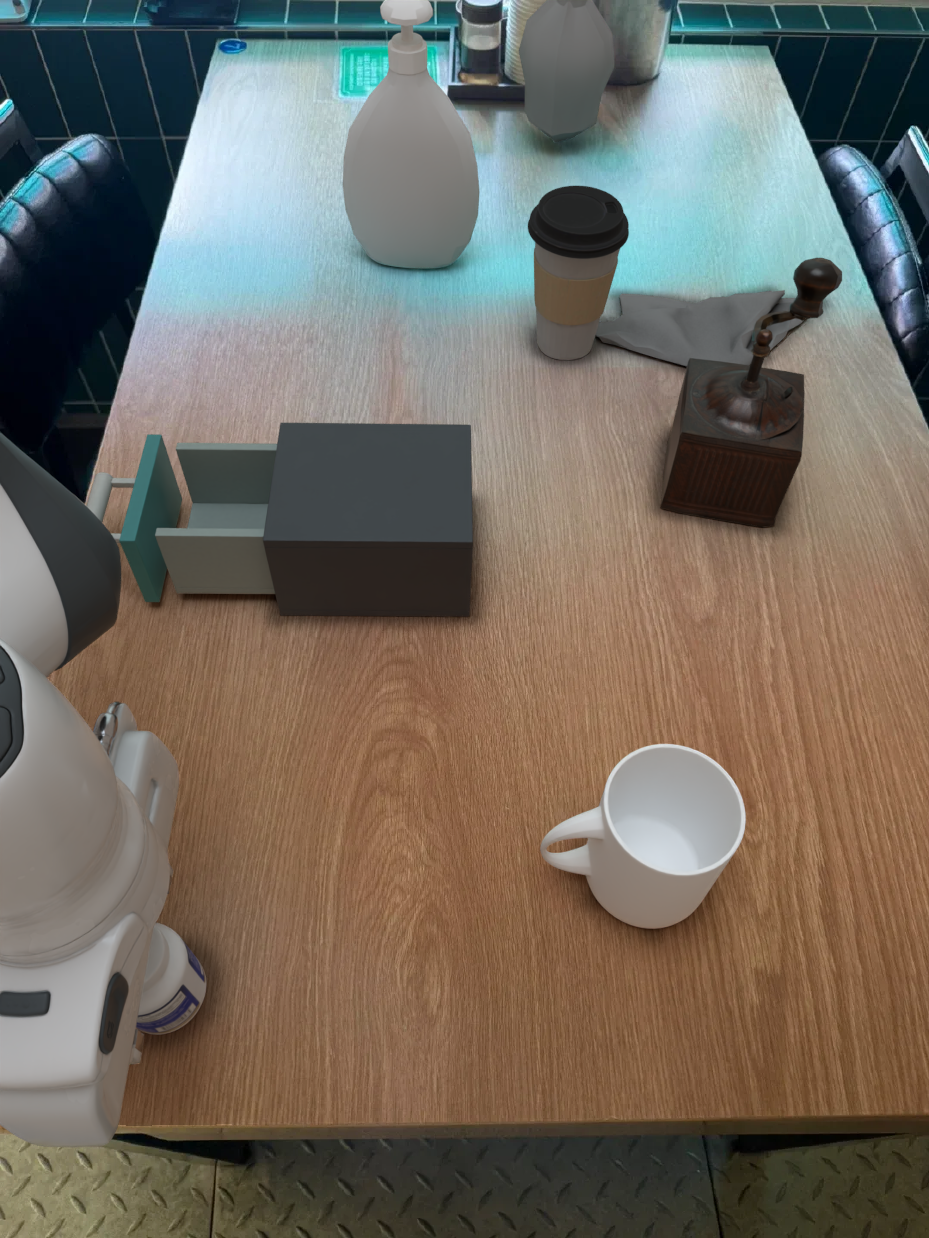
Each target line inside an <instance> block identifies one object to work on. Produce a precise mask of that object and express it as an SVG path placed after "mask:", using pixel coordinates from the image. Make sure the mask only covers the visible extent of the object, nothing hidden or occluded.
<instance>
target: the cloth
mask: <svg viewBox="0 0 929 1238" xmlns="http://www.w3.org/2000/svg"><path fill="white" fill-rule="evenodd" d="M785 295H786V291H785V289H783V290H775V291H774V290H766V291H758V292H743V293H734V294H731V295H729V296H712V297H711V296H709V297H708V298H705V299H703V300H700V301H696V302H692V301H687V300H686V301H685V300H681V299H674V298H670V297H663V296H657V295H648V294H647V295H646V294H637V293H621V294H619V302H620V308H621V315H620V316H619V317H617V318H616V319H614V320H606V321H599V324H598V328H597V331H596V335H595V338H599V339H600V340H601V342H602V343H604V344H609V345H614V346H617V347H620V348H623V349H626V350H629V351H633V352H636V353H639V354H643V355H646V356H650V357H653V358H656V359H659V360H663V361H666V362H670V363H674V364H677V365H681V366H685V367H687V364H688V361H689V358H695V359H703V360H712V361H721V362H728V363H735V364H742V365H749V366H750V364H751V361H752V358H753V355H752V353H751V350H752V346H753V343H752V333H753V329H754V326H755V323H756V321H757V320H758V319H759V318H760V317H762V316H764V315H766V314H769V313H774V312H781V311H788V310H790V309H789V307H790V304H791V303H793V302H794V300H795V298H796V297H786V298H785V297H784V296H785ZM803 322H804V321H801V320H800V319H796V318H795V319H792V320H788V321H785V322H781V323H776V324H773V325H770V326H768V327H766V329H768V330H770V331H771V332H772V334H773V339H772V341H771V343H770V344H769V347H770V351H771V350H772V349H773V348H775V346H776V345H778V344H779V343H781V341H782V340H784V338H785V337H786V336H787V334H788V332H789V331H791V330H792V329H794V328H796V327H797V326H799V325H801V324H802V323H803Z"/></svg>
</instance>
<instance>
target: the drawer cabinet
mask: <svg viewBox="0 0 929 1238" xmlns="http://www.w3.org/2000/svg"><path fill="white" fill-rule="evenodd" d="M278 430H279V431H278V436H277V443H276V444H277V449H276V455H275V462H274V469H273V475H272V482H271V489H270V495H269V502H268V509H267V515H266V522H265V529H264V535H263V543H264V548H265V552H266V557H267V561H268V565H269V569H270V574H271V578H272V582H273V586H274V591H275V594H274V595H275V599H276V603H277V608H278V611H279V615H280V616H296V617H297V616H299V617H300V616H310V617H311V616H313V617H317V616H319V617H320V616H322V617H326V616H327V617H455V618H456V617H457V618H458V617H461V618H462V617H463V618H464V617H465V618H466V617H467V618H468V617H470V615H471V594H472V592H471V591H472V572H473V571H472V570H473V553H474V552H473V551H474V549H473V548H474V524H473V523H474V522H473V520H474V519H473V465H472V464H473V463H472V461H473V460H472V459H473V458H472V424H462V423H461V424H457V423H456V424H453V423H450V424H448V423H446V424H445V423H444V424H443V423H366V422H365V423H364V422H363V423H362V422H361V423H359V422H358V423H357V422H356V423H355V422H280V423H279V428H278Z"/></svg>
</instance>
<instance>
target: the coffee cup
mask: <svg viewBox="0 0 929 1238" xmlns="http://www.w3.org/2000/svg"><path fill="white" fill-rule="evenodd" d="M627 217H628V216H627V215H626V214H625V211H624V207H623V205H622V203H621V202H620V201H619V200H618V198H617V197H615V196H614V195H613V194H610V193H609V192H608V191H605V190H603V189H600V188H596V187H593V186H587V185H566V186H561V187H557V188H554V189H552V190H550V191H548V192H546V193H545V194H544V195H542V197H541V198H540V200H539V201H538V204H536V205H535V206H534V208H533V209H532V210H531V212H530V214H529V219H528V220H527V221H528V222H527V232H528V235H529V236H530V238H531V239H532V240H533V242H534V248H533V292H534V294H533V297H534V304H535V318H536V319H535V320H536V321H535V322H536V323H535V324H536V325H535V326H536V328H535V329H536V343H537V346H538V348H539V350H540V351H541V352H542V353H543V354H544V355H546V356H547V357H548V358H551V359H554V360H559V361H574V360H578V359H582V358H584V357H586V356H587V355H588V354H589V353H590V352H591V350H592V347H593V344H594V342H595V338H596V337H595V335H596V331H597V328H598V324H599V322H601V317H602V315H603V314H604V311H605V309H606V305H607V302H608V298H609V295H610V291H611V289H612V285H613V281H614V278H615V274H616V271H617V267H618V263H619V253H620V250H621V248H622V247H624V245H625V244H627V243H626V242H627V241H628V239H629V235H630V231H629V227H630V226H629V220H628V218H627Z"/></svg>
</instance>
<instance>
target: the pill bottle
mask: <svg viewBox="0 0 929 1238" xmlns="http://www.w3.org/2000/svg"><path fill="white" fill-rule="evenodd" d="M206 992H207V977H206V972H205V969H204V967H203V966H202V963H201V961H200V960H199V959H198V957H197V956H196V954H194V952H193V951H192V950H191V949H190V947H189V946H188V944H186V942H185V941H184V940H183V938H182V937H181V936H180V935H179V934H178V933H177V932H176V931H175V930H174V929H172V928H171V927H169V926H167V925H165V924H162V923H159V922H156V923H155V925H154V929H153V935H152V941H151V946H150V952H149V957H148V963H147V969H146V974H145V980H144V985H143V991H142V996H141V1002H140V1008H139V1013H138V1019H137V1024H136V1029H139V1030H140V1031H141V1032H142V1033H144V1034H149V1035H166V1034H170V1033H173V1032H175V1031H177V1030H179V1029H182V1028H183V1027H185V1025H188V1024H189V1022H190V1021H192V1019H193V1018H194V1017H195V1016H196V1015H197V1014H198V1012H199V1010H200V1008H201V1007H202V1004H203V1002H204V1000H205V997H206V994H207V993H206Z"/></svg>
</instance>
